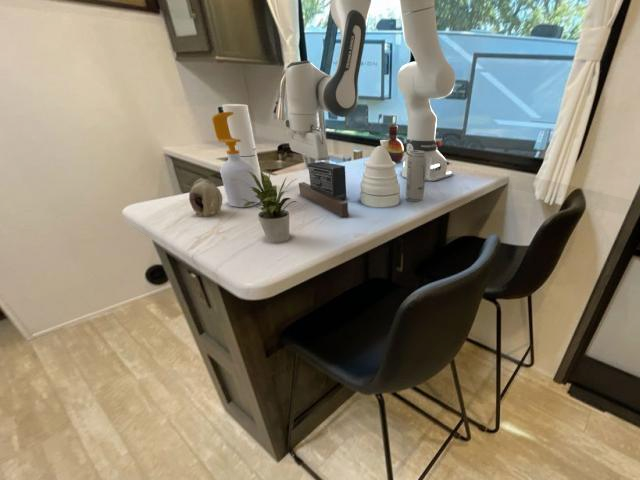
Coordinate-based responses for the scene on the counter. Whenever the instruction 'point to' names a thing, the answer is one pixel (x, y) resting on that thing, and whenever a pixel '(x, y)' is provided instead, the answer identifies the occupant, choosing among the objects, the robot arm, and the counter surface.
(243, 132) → the cylindrical container
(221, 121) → the spray bottle
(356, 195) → the counter surface
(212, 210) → the round stone pot
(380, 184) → the honey pot
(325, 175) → the small box
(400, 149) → the vase
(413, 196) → the energy drink can
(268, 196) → the house plant
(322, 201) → the back rail
